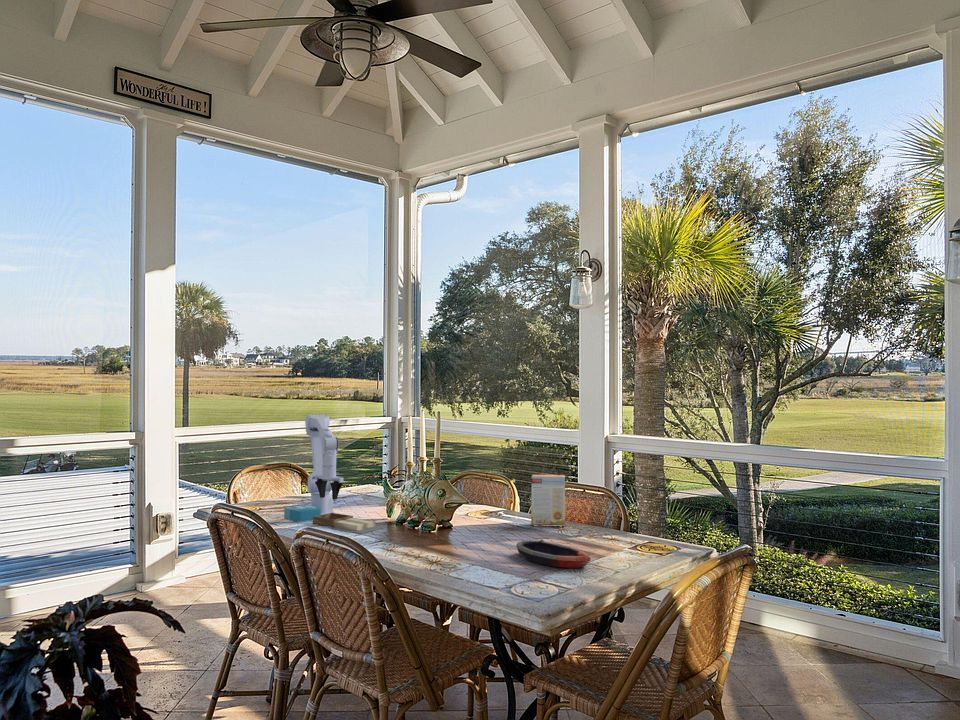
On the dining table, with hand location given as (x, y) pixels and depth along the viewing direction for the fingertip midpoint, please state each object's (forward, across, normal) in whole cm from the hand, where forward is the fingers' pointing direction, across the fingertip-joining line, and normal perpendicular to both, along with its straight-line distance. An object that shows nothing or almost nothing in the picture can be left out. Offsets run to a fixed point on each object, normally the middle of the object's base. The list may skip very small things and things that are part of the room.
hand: (328, 498), depth 309 cm
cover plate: (+9, +18, -3) cm, 20 cm away
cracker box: (+10, +79, +47) cm, 92 cm away
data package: (+7, -14, -9) cm, 18 cm away
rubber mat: (+9, +20, -3) cm, 22 cm away
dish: (+10, +107, -5) cm, 108 cm away
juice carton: (+10, +31, +24) cm, 40 cm away
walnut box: (+9, +6, -3) cm, 11 cm away
